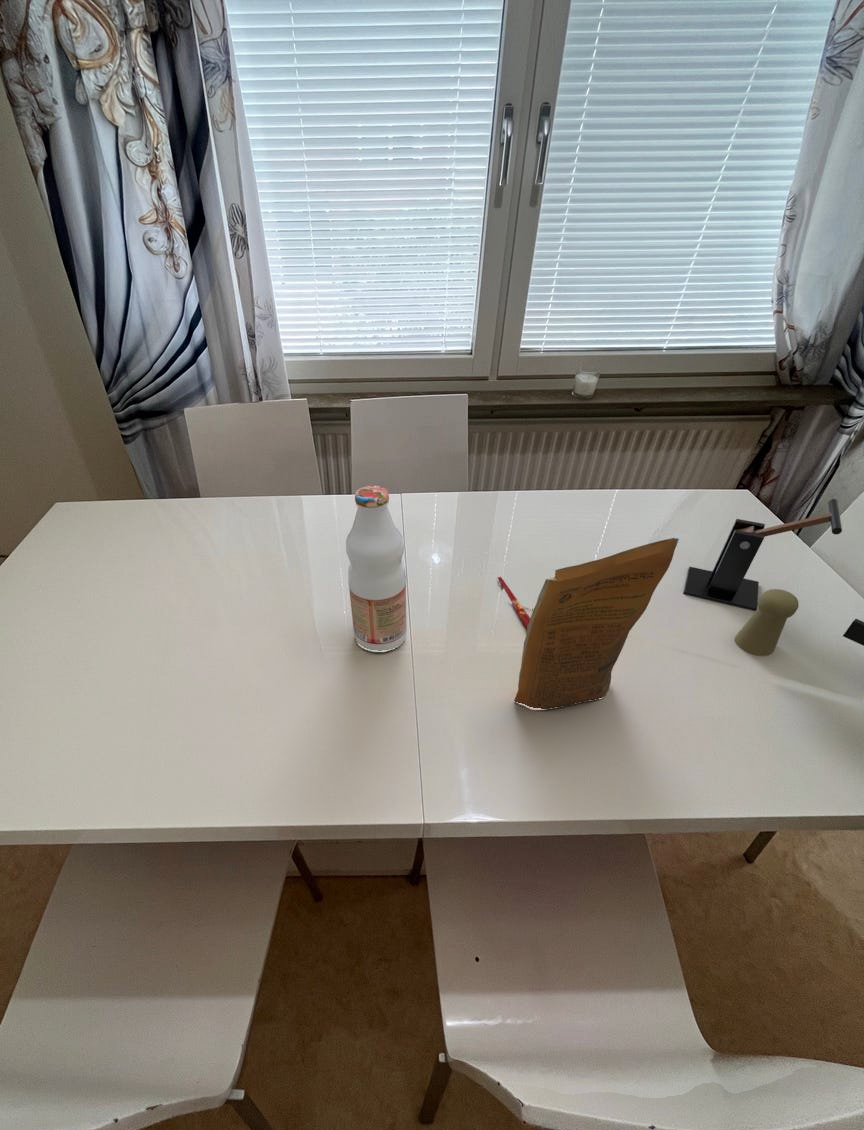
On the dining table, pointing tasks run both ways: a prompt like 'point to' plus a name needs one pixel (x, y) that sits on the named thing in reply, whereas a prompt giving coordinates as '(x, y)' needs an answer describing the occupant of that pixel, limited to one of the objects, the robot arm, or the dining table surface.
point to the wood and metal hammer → (805, 522)
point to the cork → (767, 622)
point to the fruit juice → (376, 573)
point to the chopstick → (516, 604)
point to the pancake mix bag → (587, 624)
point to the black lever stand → (730, 571)
